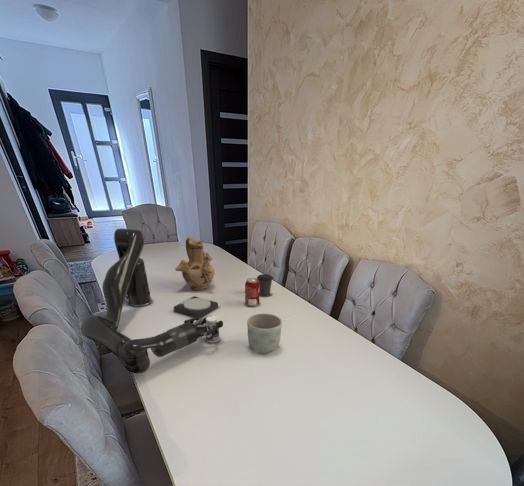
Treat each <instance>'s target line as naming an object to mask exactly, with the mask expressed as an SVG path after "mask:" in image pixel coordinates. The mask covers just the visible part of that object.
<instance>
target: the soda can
mask: <svg viewBox="0 0 524 486" xmlns="http://www.w3.org/2000/svg"><path fill="white" fill-rule="evenodd" d="M260 297H261V296H260V283H259V282H258V279H257V277H256V278H255V277H248V278H247V279H246V281H245V283H244V302H245V305H246V306H249V307H257V306H258V305H260Z"/></svg>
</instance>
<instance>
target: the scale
mask: <svg viewBox="0 0 524 486" xmlns="http://www.w3.org/2000/svg"><path fill="white" fill-rule="evenodd" d="M218 308H219V302H217V301H213V300H210V299H207V298H204V297H198V296H196V295H195V296H194V295H193V296H191V297H189V298H187V299H185V300H183V301H181V302H180V303H178V304H176V305H174V306H173V310H174V313H177V314H181V315H184V316H188V317H191V318H196V317H199V319H200V318H204V317H206V316H207V315H208V314H210V313H211V312H213V311H216V309H218Z"/></svg>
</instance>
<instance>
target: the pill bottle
mask: <svg viewBox="0 0 524 486" xmlns="http://www.w3.org/2000/svg"><path fill="white" fill-rule="evenodd" d="M208 316H209V317H208ZM208 316H206V317H207V318H206V317H205V318H206V324H209V325H211V324H214V323H216V322H218V318H217V316H215V315H208ZM212 328H213V327H211V328H210V329H212ZM206 331H207V327H206ZM220 336H221V335H220V328H218V334H216V335H215V336H213V337H212V338H211V339H207V337H205V340H206V341H207V342H208V343H216V342H219V340H220V338H221V337H220Z"/></svg>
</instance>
